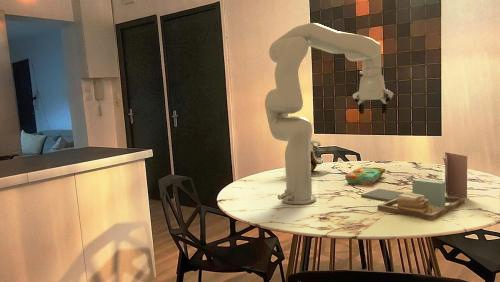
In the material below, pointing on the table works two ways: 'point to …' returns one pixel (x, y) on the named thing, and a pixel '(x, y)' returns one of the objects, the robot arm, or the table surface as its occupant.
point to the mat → (382, 194)
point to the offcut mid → (413, 204)
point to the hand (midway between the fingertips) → (372, 113)
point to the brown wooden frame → (432, 216)
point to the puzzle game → (364, 175)
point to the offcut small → (411, 197)
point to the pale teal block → (430, 191)
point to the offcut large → (426, 210)
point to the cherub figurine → (316, 160)
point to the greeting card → (456, 174)
